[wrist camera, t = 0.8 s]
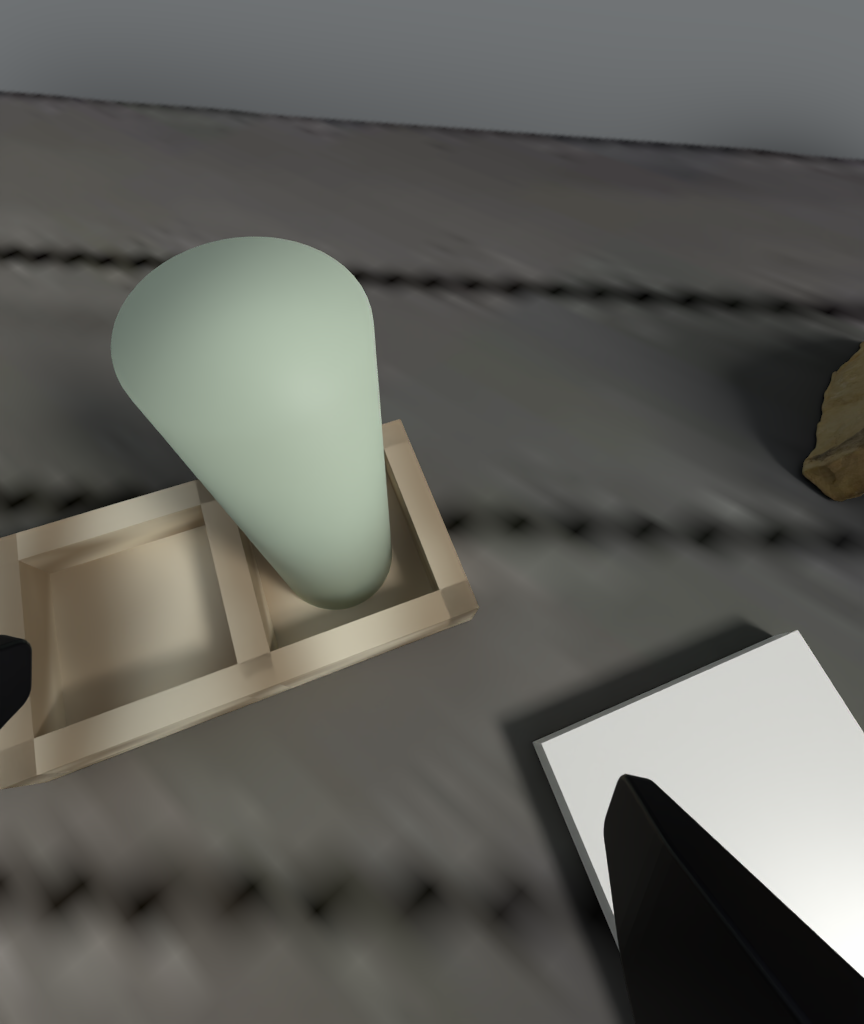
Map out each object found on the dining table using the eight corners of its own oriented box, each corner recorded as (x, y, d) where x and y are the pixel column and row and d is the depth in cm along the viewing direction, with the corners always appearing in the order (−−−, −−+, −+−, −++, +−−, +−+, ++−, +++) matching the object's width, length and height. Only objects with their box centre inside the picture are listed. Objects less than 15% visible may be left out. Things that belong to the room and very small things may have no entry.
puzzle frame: (47, 782, 19) (-3, 790, 17) (26, 561, 22) (-17, 542, 20) (471, 619, 22) (479, 607, 20) (400, 446, 25) (400, 419, 23)
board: (691, 1124, 16) (718, 1161, 15) (531, 742, 20) (541, 743, 19) (968, 949, 18) (1013, 967, 17) (773, 635, 23) (797, 629, 21)
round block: (298, 626, 21) (132, 472, 8) (270, 525, 23) (94, 267, 10) (407, 587, 22) (409, 393, 9) (372, 492, 24) (331, 216, 11)
